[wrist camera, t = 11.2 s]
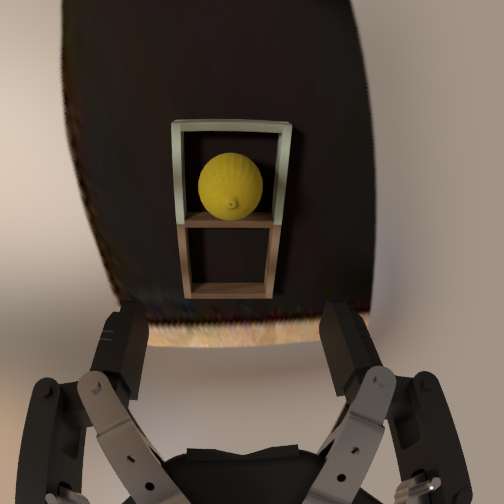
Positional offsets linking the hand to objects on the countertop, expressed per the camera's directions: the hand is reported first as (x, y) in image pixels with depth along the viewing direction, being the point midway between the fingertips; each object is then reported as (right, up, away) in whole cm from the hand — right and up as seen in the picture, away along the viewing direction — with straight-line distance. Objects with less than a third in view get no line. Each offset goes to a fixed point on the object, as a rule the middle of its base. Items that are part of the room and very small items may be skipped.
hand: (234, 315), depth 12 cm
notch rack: (-2, +7, +18) cm, 20 cm away
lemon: (-1, +11, +16) cm, 19 cm away
